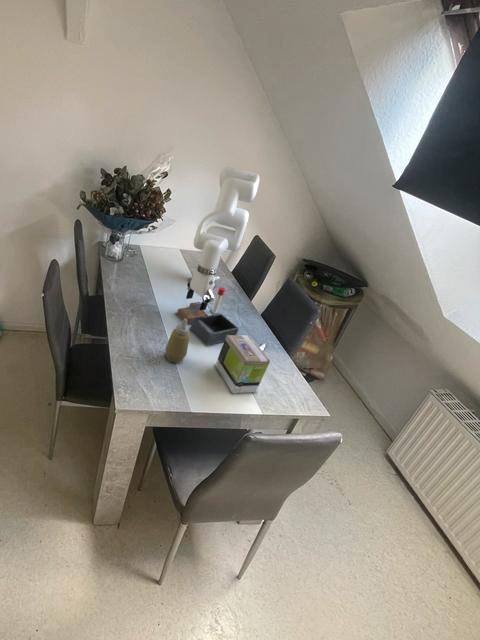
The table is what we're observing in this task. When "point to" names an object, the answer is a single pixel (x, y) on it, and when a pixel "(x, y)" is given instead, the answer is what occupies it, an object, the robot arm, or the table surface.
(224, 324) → the sink basin
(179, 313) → the tap block
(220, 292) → the marker
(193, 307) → the tap handle
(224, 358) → the tea box
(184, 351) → the squeeze bottle
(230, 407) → the table surface
